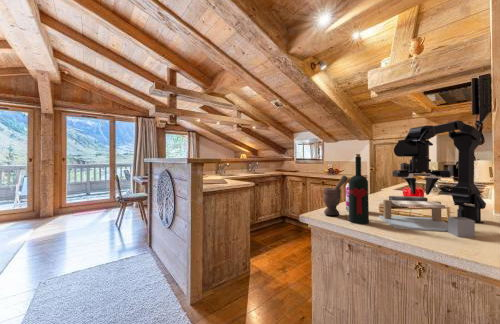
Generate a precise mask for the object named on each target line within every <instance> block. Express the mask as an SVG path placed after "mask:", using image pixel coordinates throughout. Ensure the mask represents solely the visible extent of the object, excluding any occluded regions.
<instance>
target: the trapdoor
mask: <svg viewBox="0 0 500 324" xmlns="http://www.w3.org/2000/svg"><path fill="white" fill-rule="evenodd" d="M388 200H391V206H399V207H407V208H408V207H409V208H411V207H412V208H432V207H433V208H441V209H446V205H445V204H442V203H441V204H439V203H435V202H432V201H431V200H430V201H428V197H425V196H413V195H412V196H407V195H405V196H404V195H403V196H402V195H389V196H388Z"/></svg>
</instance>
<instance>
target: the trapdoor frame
mask: <svg viewBox="0 0 500 324" xmlns="http://www.w3.org/2000/svg"><path fill="white" fill-rule="evenodd" d="M382 201H383V202H382V203H383V207H382V208H383V211H382V213H383V215H378V219H381V220H382V221H384V222H385V223H387V224H388V225H389V226H391V227H393V228H394V229H396V230H413V231H414V230H415V231H430V232H431V231H432V232H434V231H435V232H448V222H446V221H444V220H442V208H433V207H431V217H419V216H398V215H397V216H396V215H395V216H394V215H392V204H391V200H389V199H383V200H382ZM431 202H435V203H439V204H442V202H441V201H438V200H436V201H435V200H432V201H431Z"/></svg>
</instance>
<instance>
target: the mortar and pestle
mask: <svg viewBox="0 0 500 324" xmlns="http://www.w3.org/2000/svg"><path fill="white" fill-rule="evenodd" d="M347 181H348V176H346V175H342V176H341V177H340V179H339V181H338V182H337V184H336V185H335V186H334V187H327V186H326V187H323V188H322V199H323V203H324V204H325V206H326V209H324V212H323V214H325V215H327V216H339V215H340V211H339V210H338V209H337V207H338V206H339V205H340V203H341V194H342V192H341V191H342V189H341V187H342V186H343V185H344V184H346V182H347Z"/></svg>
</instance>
